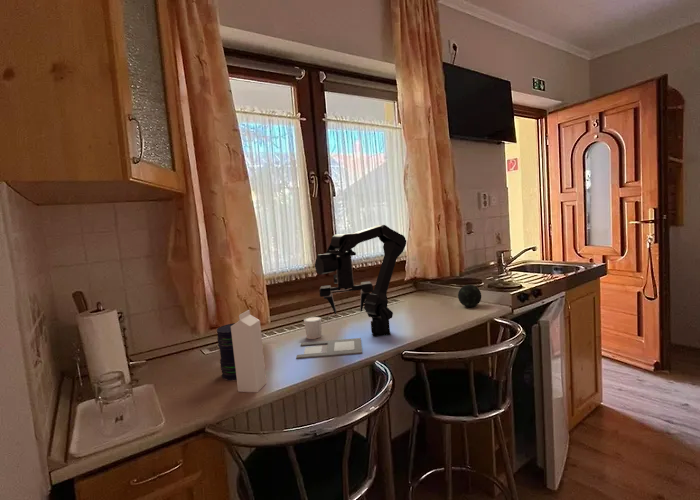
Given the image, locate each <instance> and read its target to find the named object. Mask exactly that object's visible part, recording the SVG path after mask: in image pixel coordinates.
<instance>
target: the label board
mask: <svg viewBox="0 0 700 500" xmlns="http://www.w3.org/2000/svg"><path fill="white" fill-rule="evenodd" d="M323 345H327V348H326V351H325V352H322V350H323ZM300 347H304V351H303V354H302V353H301V354H296V360H299V359H311V358H312V359H314V358H326V357H336V356H348V355H362V354H363V348H362V339H361V337H356V338H345V339H342V338H341V339H331V340H330V339H329V340H319V341H307V342H301V343H300Z"/></svg>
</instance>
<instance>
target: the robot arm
mask: <svg viewBox="0 0 700 500" xmlns="http://www.w3.org/2000/svg"><path fill="white" fill-rule="evenodd" d="M376 238H378V240H379V241H380V242H382V244H383V245H382V249H383V254H384V255H383V259H382V262H381V265H380V268H379V271H378V276H377V278H376V282H375V284H374V285H373V283H372V282H371V281H362V282H360V284H357V285H356V284H355V282H354V280H355V279H354V274H353V273H354V272H353V263H352V256H357V253H356V252H355V251H353V250H352V249H354V248H356V246H357V245H359V244H360V243H364V242H366V241H371V240H373V239H376ZM406 245H407V239H406V237H405V235H403V234H401V233H399V232H397V231H396V230H393V229H392V228H390V227H389V226H387V225H386V224H376V225H375V226H371V227H369V228H365V229H362V230H358V231H355V232H350V233H339V234H338V233H337V234H334V235H333V236H332V237H331V240H330V243H329V244H328V247H327V249H326V251H325V253H323V254H321V253H320V254H317V255H316V257H317V258H316V259H315V263H314V269H315V272H316V273H317V274H318V275H320V276H321V275H324V274H331V273H333V272H336V274H333V275H332V276H333V277H332V278H333V284H335V285H336V284H337V286H334V287H332V286H331V284H330V285H321V286H320V287H319V297H320V298H322V297H323V299H324V300H327V302H328V303H329V304H330V307H331V309H332V311H333V312H334V313H333V314H335V315H336V314H337V310H336V309H337V308H336V305H335V304H336V303H335V300H334V295H333V294H334V293H336V294H337V293H344V292H354V291H355V292H356V291H360V303H359V304H360V305H359V307H360V312H363V309H364V311H365V313H367V316H368V317H369V318H371V321H370V330H371V334H372V336H373V337H381V336H391V335H392V334H391V330H390V328H391V327H390V319H392V318H393V315H394V313H393V310H392V309H390V308H388V304H389V301H388V295H387V292H388V289H389V286H390V283H391V280H392V277H393V274H394V270H395V266H396V262H397V259H398V258H399V256H400V255H401V254H403V253H404V250H405V248H406Z"/></svg>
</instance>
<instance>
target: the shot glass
mask: <svg viewBox="0 0 700 500" xmlns="http://www.w3.org/2000/svg"><path fill="white" fill-rule="evenodd" d="M303 324H304V329H305V334H306V338H307V339H309V340H315V339H316V340H317V339H320V338H321V337H322V317H320V316H309V317H307V318H304V319H303Z"/></svg>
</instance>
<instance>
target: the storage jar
mask: <svg viewBox="0 0 700 500" xmlns="http://www.w3.org/2000/svg"><path fill="white" fill-rule="evenodd" d="M235 323H236V322H234V323H228V324H224V325H221V326H219V327H217V328H216V334H217V335H216V336H217V338H216V339H217V343H218V344H217V346H218V348H219V353H220V359H219V363H220V370H221V374H222V375H221V378H222V379H223V380H225V381H229V382H230V381H237V377H236V368H235V360H234V351H233V342H232V333H231V326H232V325H233V324H235Z"/></svg>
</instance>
